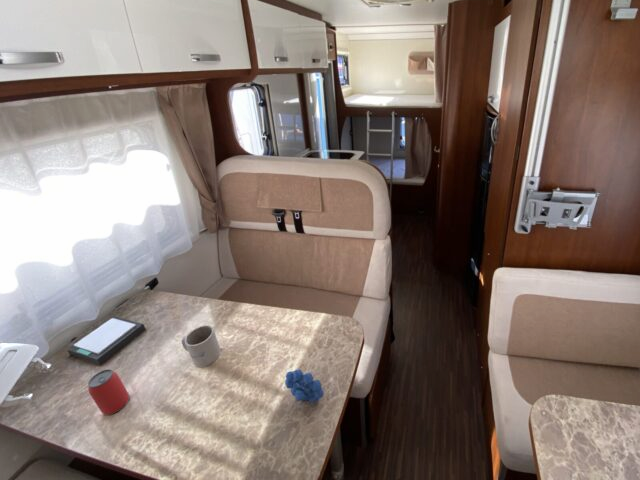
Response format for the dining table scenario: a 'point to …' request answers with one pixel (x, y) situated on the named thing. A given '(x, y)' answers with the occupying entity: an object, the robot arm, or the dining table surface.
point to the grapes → (303, 386)
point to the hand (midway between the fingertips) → (40, 383)
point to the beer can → (108, 391)
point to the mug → (202, 345)
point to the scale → (106, 340)
